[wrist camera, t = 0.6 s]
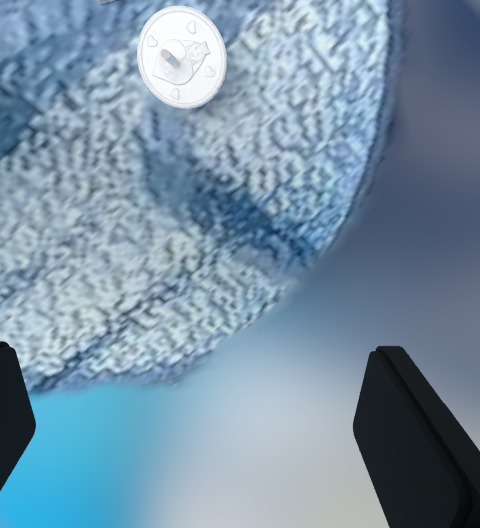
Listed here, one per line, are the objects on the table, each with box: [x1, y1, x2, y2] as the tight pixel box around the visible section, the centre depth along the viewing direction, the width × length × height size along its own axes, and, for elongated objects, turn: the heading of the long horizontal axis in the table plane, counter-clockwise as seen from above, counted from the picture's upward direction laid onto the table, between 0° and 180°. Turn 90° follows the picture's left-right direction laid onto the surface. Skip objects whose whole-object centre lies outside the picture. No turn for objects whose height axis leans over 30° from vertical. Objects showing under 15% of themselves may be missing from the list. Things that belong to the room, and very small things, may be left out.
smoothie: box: [137, 6, 227, 109], centre depth 27 cm, size 6×6×14 cm
